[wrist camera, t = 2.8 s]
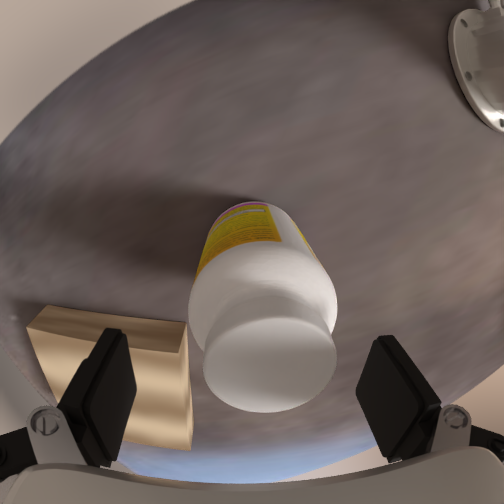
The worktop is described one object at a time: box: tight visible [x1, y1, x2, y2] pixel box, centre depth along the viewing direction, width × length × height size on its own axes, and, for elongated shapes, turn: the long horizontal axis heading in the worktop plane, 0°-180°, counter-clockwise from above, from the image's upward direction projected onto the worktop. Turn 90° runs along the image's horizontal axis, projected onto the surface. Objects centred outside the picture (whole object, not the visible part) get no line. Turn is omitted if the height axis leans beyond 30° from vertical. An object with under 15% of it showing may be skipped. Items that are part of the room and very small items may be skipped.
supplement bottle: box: [188, 201, 337, 412], centre depth 15 cm, size 7×7×13 cm
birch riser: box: [26, 305, 194, 451], centre depth 24 cm, size 14×14×4 cm
